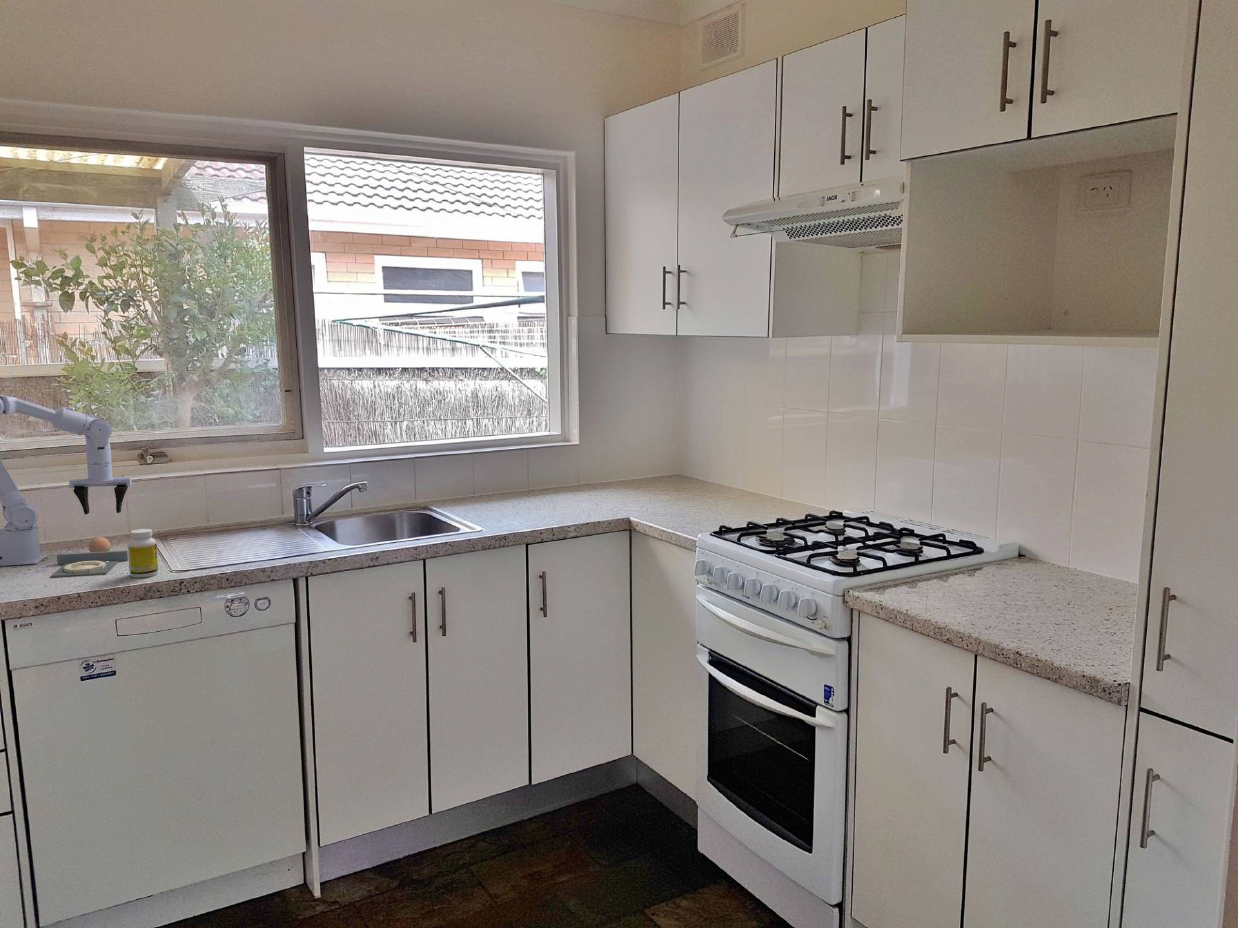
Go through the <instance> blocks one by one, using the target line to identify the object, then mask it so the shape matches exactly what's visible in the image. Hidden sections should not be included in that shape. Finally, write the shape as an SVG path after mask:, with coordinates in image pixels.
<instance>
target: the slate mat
mask: <svg viewBox="0 0 1238 928" xmlns="http://www.w3.org/2000/svg"><path fill="white" fill-rule="evenodd" d="M118 562H119V561H109V562H102V561H83V562H77V563H72V564H62V566H60V567H59V568H58V569H57V570H56V571H55V572H53V573H52V574H51V575H50V578H52V579H53V578H65V577H66V578H68V577H82V576H83V577H84V576H101V575H100V574H103V575H107V574H108V573H109V572H110V571H111V570H112V569H113V568H114V567H115V566H116V565H117V564H118ZM116 563H117V564H116ZM109 570H110V571H109Z"/></svg>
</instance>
